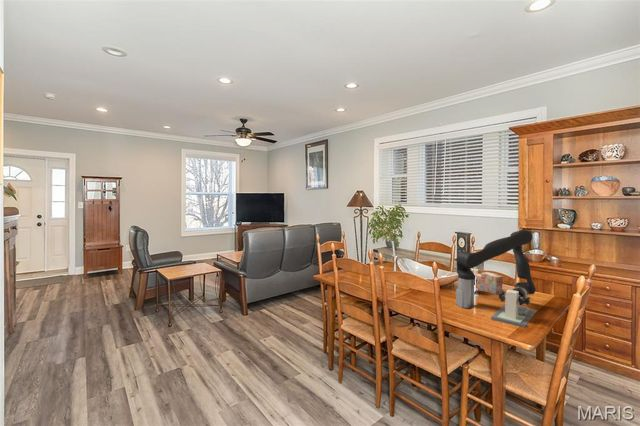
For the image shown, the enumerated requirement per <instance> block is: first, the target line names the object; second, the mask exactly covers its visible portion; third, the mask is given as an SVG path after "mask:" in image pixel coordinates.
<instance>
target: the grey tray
mask: <svg viewBox="0 0 640 426" xmlns="http://www.w3.org/2000/svg"><path fill="white" fill-rule="evenodd" d="M536 313H537V310H536V309H532V308H531V307H528V306H523V305H519V304H518V317H517V318H516V319H512V318H508V317H505V304H504V305H502V306H501V307H500V308H499V309H498V310H497V311H496V312H495V313H494V314H493V315H492V316H491V318H490V320H492V321H496V322H499V323H504V324H508V325H512V326H514V327H520V328H524V329H526V328H527V327H528V325H527V324H528V323H529V322H530V321H531V319H532V318H533V317H534V315H535V314H536Z"/></svg>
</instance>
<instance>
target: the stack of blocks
mask: <svg viewBox="0 0 640 426" xmlns="http://www.w3.org/2000/svg"><path fill="white" fill-rule="evenodd" d="M476 273H477V289H478V290H480V291H485V292H487V293H489V292H490V293H489V294H492V293H493V294H492V295H495V294H497V295H499V294H500V293H502V292H503V281H504V278H503V275H499V274H497V273H492V272H488V271H486V272H481V273H478V272H476Z"/></svg>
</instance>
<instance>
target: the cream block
mask: <svg viewBox="0 0 640 426" xmlns="http://www.w3.org/2000/svg"><path fill="white" fill-rule="evenodd" d="M505 294H506V297H505V298H506V299H505V300H504V301H505V302H504V305H505V317H508V318H512V319H516V318H517V317H518V305H519V303H518V295H519V291H514V290H513V289H507V290H506V291H505Z"/></svg>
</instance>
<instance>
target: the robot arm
mask: <svg viewBox="0 0 640 426" xmlns="http://www.w3.org/2000/svg"><path fill="white" fill-rule="evenodd" d="M532 241H533V234H532V233H531V231H529V230H527V229H520V230H516V231H513V232H512V233H510V236H506V237H502V238H498V239H496V240H493V241H490V242H488V243H486V244H485V245H484V247H483V249H482V250H479V251H476V252H475V251H474V252H471V251H470V252H469V251H466V250H461V251H460V252H458V254H457V255H456V273H457V288H456V289H455V305H456V306H458V307H460V308H461V309H462V308H463V309H464V308H465V309H473V308H474V307H475V293H474V285H475V275H474V273H475V272H473V271H472V270H471V269H473V268H476V267H478V266H480V265H481V264H483V263H485V262H487V261H489V260H491V259H494V258H497V257H499V256H501V255H504V254H505V253H508V252H509V251H511V250H512V252H513V255H514V259H515V263H516V264H515V265H516V275H517V278H519V279H521V280H522V279H523V280H526V282H525V281H523V282H522V281H521V282H520V281H519V282H516V283H515V286H514V288H513V289H512V290H514V291H519V295H518V305H519V306H523V305H527V306H528V305H529V304H530V303H531V297H530V296H529V295H534V294H535V293H536V291H537V289H536V286H535V284H534V281H533V278H532V275H531V266H530V263H529V261H528V259H527V258H526V255H525V254H524V251H523V246H525V245H528V244H530V243H531V242H532ZM505 299H506V292H503V291H502V293H500V294H498V300H500V301H501V302H504V301H505Z"/></svg>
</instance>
